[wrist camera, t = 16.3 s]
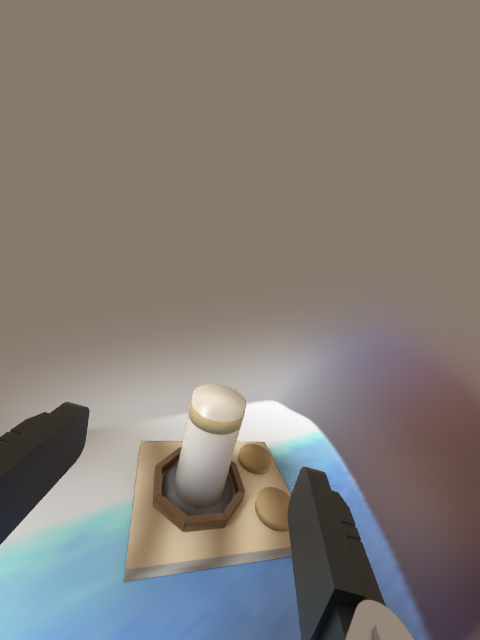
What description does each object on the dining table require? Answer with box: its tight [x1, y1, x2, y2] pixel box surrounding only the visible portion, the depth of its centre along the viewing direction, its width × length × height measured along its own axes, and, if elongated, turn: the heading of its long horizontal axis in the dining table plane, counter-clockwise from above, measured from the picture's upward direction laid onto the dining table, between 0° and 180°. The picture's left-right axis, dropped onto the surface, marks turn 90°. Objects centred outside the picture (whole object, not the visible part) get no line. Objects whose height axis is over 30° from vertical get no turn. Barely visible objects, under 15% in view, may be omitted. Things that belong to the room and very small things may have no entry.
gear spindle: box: [174, 384, 246, 509], centre depth 25 cm, size 5×5×10 cm
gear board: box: [124, 441, 292, 582], centre depth 27 cm, size 16×13×2 cm
